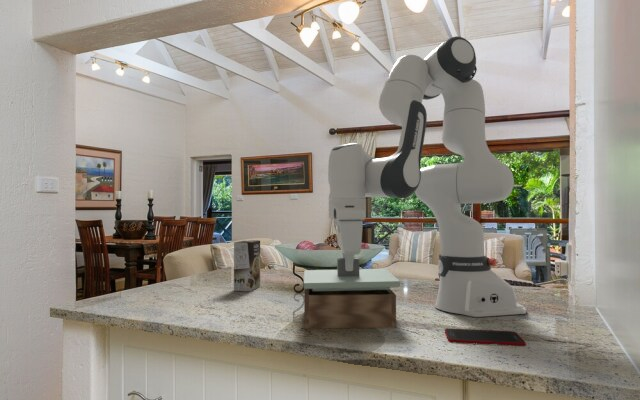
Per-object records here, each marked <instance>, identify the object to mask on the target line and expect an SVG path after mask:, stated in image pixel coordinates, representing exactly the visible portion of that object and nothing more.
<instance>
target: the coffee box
mask: <svg viewBox="0 0 640 400" xmlns="http://www.w3.org/2000/svg"><path fill="white" fill-rule="evenodd" d="M258 288H261V240H257V239H256V240H254V239H253V240H252V239H251V240H240V241H234V242H233V291H234V292H236V291H237V292H238V291H239V292H249V291H250V292H253V291H255V290H256V289H258Z"/></svg>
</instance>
